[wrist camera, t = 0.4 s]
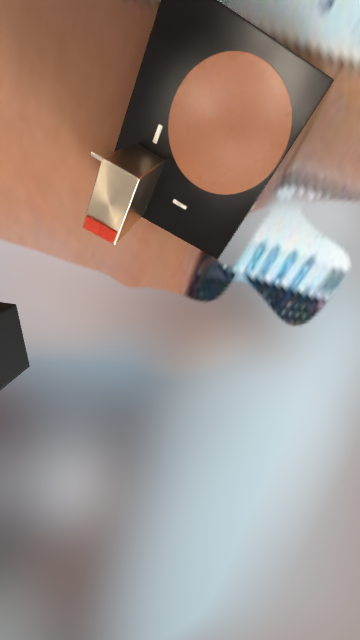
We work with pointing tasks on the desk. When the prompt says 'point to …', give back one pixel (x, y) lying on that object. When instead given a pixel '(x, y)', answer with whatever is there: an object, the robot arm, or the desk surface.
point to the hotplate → (157, 96)
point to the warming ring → (230, 122)
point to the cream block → (122, 191)
